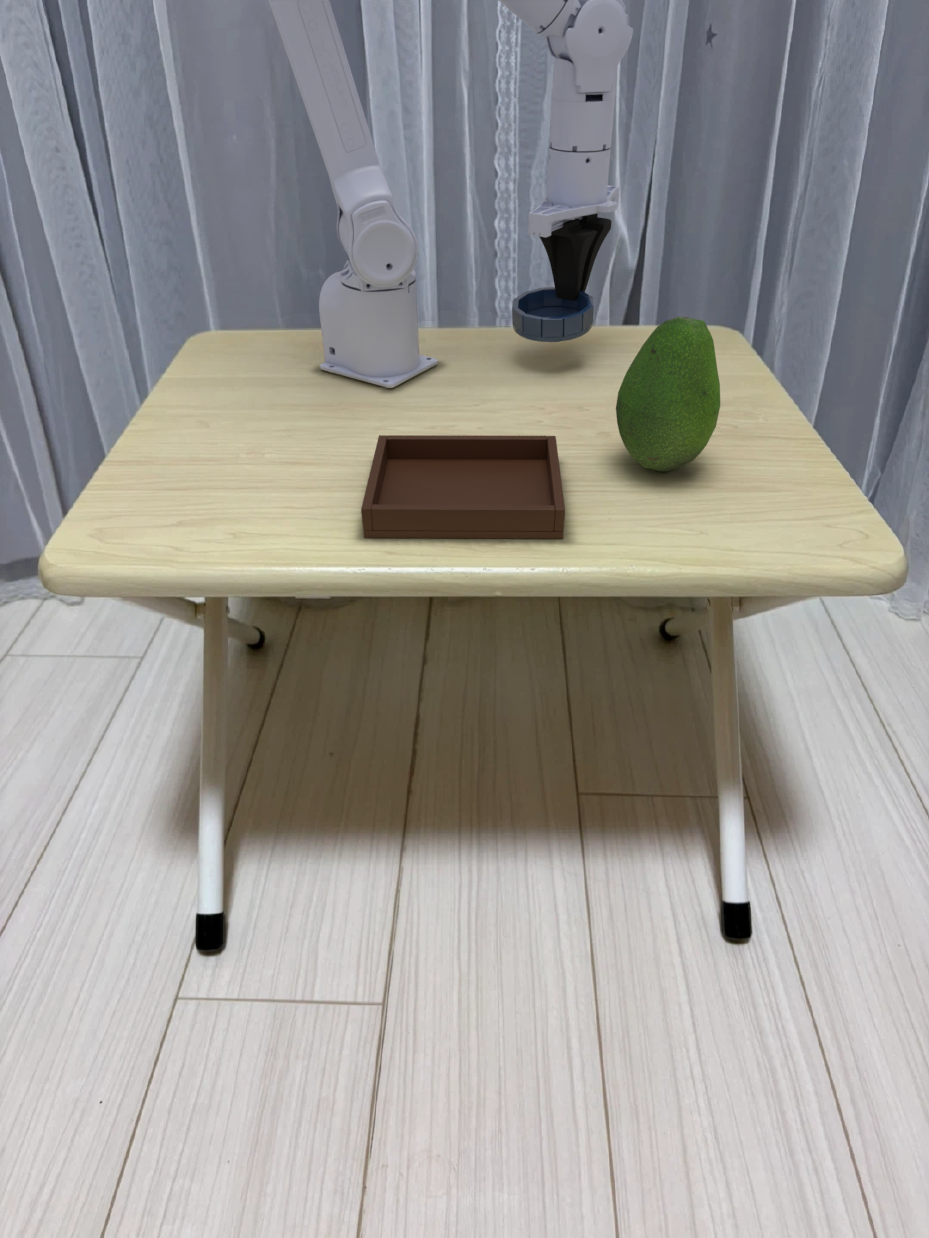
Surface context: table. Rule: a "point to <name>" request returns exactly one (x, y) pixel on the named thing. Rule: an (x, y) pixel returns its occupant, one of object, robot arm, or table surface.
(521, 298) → the blue faceted bowl
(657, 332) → the fruit
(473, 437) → the tray
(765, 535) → the table surface
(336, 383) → the table surface
